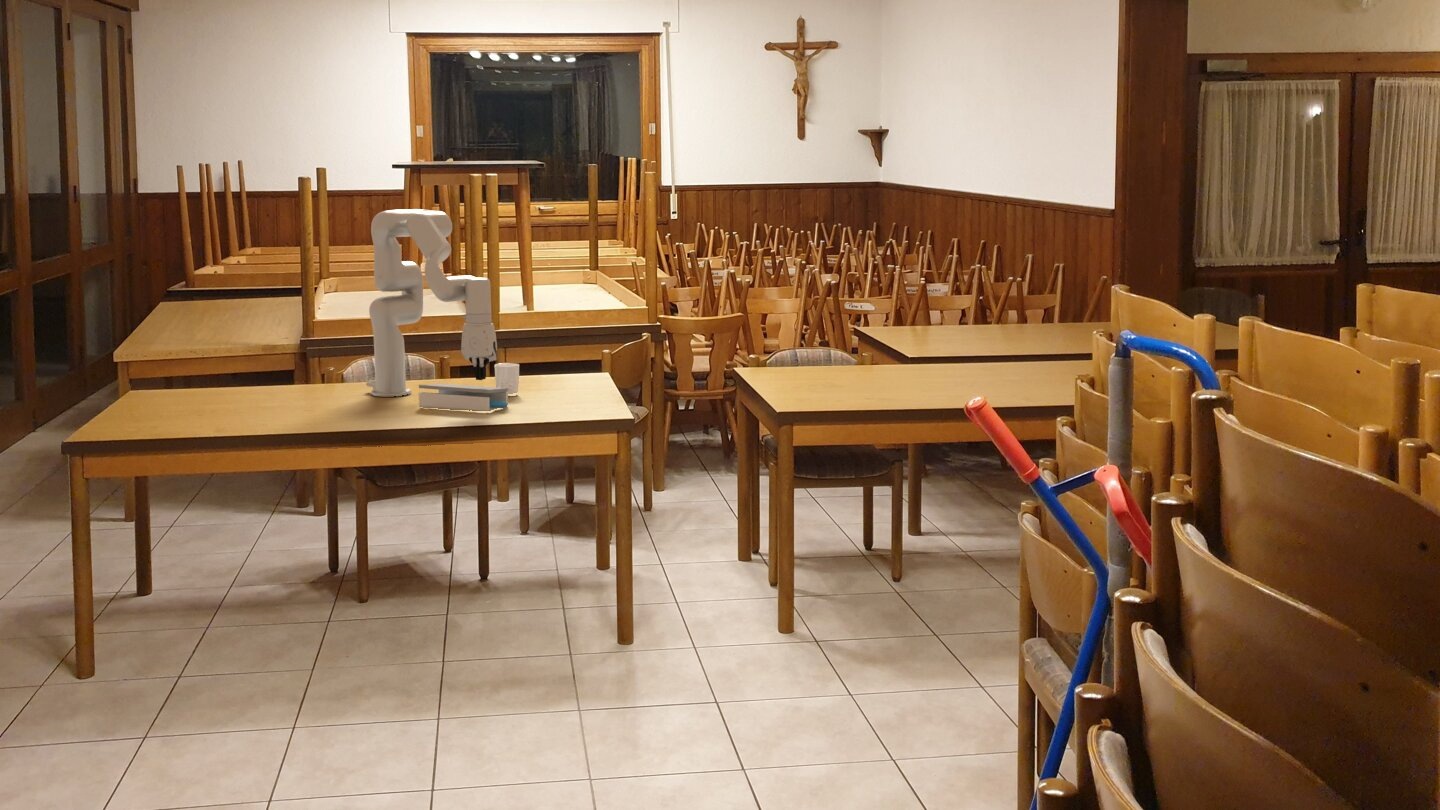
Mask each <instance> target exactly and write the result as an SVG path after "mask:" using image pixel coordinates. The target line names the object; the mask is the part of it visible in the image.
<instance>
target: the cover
mask: <svg viewBox="0 0 1440 810" xmlns="http://www.w3.org/2000/svg"><path fill="white" fill-rule="evenodd" d="M418 389H426V390H427V389H428V390H438V391H439V390H452V391H465V392H479V393H495V392H507V391H508V388H498V387H496V386H495V387H494V386H482V385H481V386H480V385H467V384H465V385H464V384H454V383H440V382H439V383H428V384H426V383H425V384H418Z"/></svg>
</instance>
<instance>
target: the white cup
mask: <svg viewBox="0 0 1440 810" xmlns="http://www.w3.org/2000/svg"><path fill="white" fill-rule="evenodd" d="M493 367H494V380H495V387H498V388H508V394H513V393H517V392H518V393H519V387H520V386H519V383H520V381H519V379H520V364H519V363H513V362H502V363H495V364H494V366H493Z"/></svg>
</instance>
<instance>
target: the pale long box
mask: <svg viewBox="0 0 1440 810" xmlns="http://www.w3.org/2000/svg"><path fill="white" fill-rule="evenodd" d="M489 400H491V401H504V402H506V403H507V405H508V406H509V397H508V391H507V392H495V393H479V392H465V391H452V390H438V392H423V391H419V392H418V408H419V407H423V408H438V409H450V410H469V411H470V410H472V411H491V410H494V409H497V407H490V403H489Z"/></svg>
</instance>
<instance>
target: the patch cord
mask: <svg viewBox="0 0 1440 810" xmlns="http://www.w3.org/2000/svg"><path fill="white" fill-rule="evenodd" d="M489 403H490V407H497V408H505V409H507V408H506V407H507V403H506V402H504V401H491V400H489Z"/></svg>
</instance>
